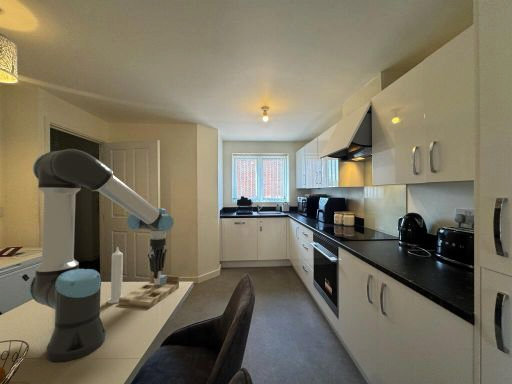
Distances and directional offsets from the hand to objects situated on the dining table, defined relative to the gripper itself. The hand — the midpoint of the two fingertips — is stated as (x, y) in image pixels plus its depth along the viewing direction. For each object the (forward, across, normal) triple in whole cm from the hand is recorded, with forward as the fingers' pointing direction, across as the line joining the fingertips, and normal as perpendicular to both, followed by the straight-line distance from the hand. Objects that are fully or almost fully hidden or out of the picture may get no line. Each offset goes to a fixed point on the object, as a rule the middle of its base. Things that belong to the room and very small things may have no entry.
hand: (157, 284), depth 119 cm
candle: (+4, -13, +12) cm, 18 cm away
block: (+1, +3, 0) cm, 3 cm away
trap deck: (+4, -4, 0) cm, 6 cm away
